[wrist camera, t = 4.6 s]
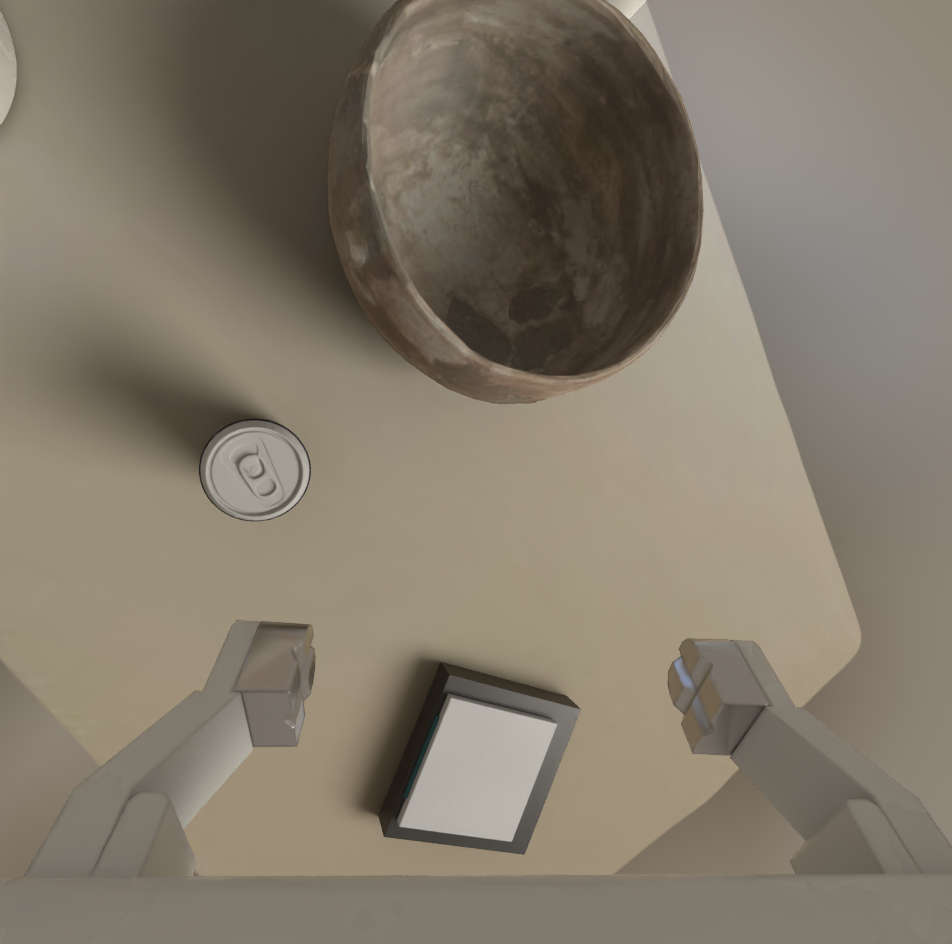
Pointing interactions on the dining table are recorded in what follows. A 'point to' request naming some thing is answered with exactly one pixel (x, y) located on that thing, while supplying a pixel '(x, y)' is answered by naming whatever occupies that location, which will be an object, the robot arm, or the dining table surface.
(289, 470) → the beverage can
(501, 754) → the scale
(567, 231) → the bowl
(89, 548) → the dining table surface
